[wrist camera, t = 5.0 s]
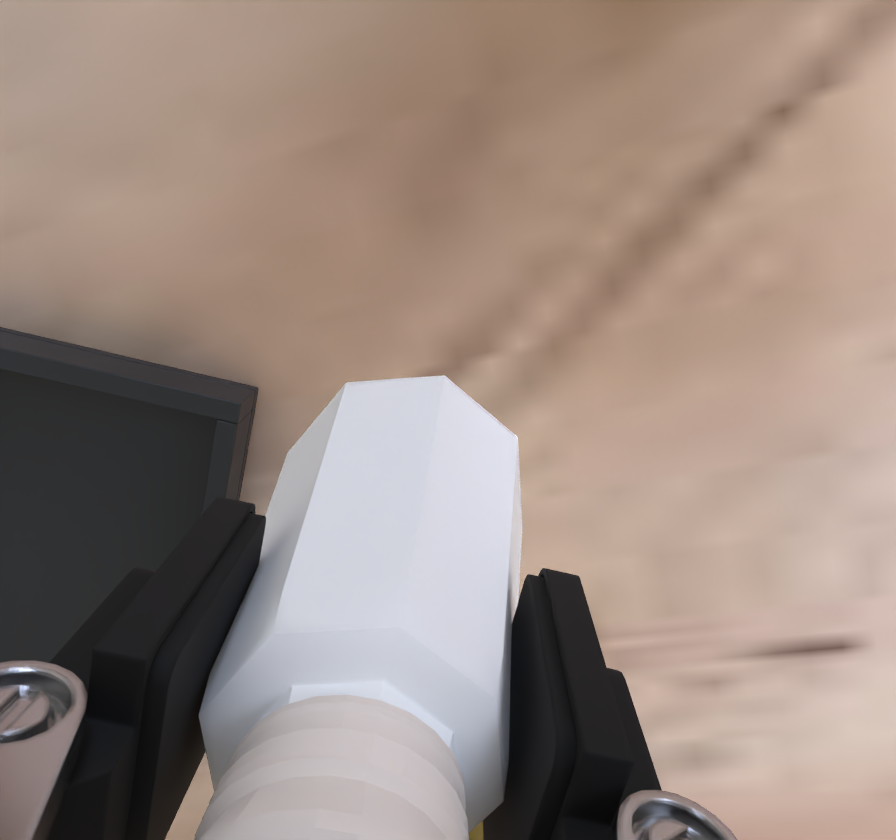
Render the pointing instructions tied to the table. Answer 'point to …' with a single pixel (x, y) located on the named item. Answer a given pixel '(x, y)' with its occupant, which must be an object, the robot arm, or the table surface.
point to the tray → (101, 477)
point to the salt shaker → (374, 628)
